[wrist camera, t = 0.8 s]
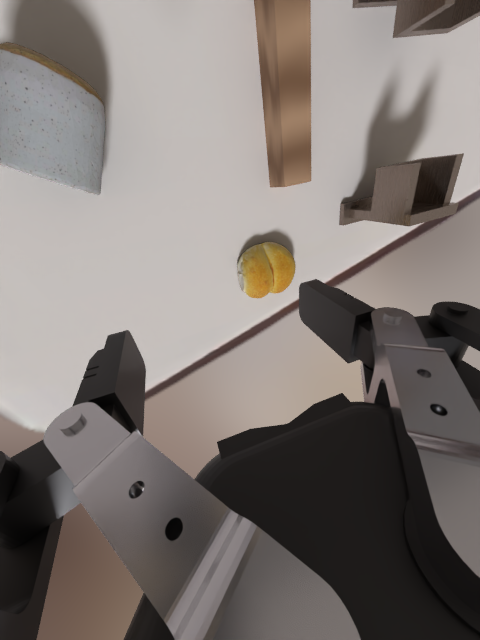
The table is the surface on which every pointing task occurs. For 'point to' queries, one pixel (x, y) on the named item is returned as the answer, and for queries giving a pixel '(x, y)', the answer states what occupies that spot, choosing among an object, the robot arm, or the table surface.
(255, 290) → the bread roll
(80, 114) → the ceramic mug
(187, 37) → the table surface
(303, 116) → the rail
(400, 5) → the brackets
